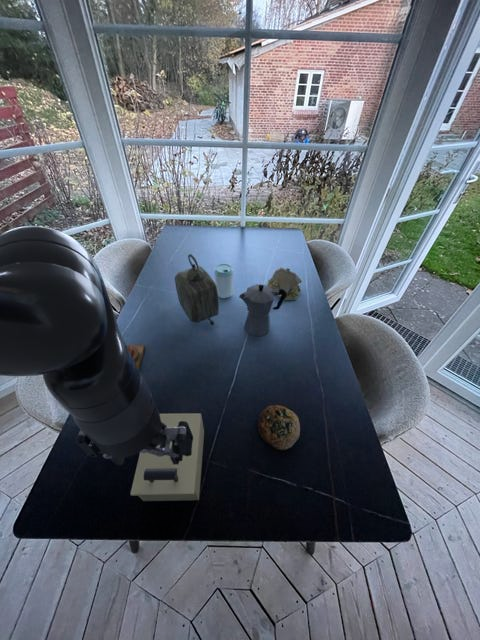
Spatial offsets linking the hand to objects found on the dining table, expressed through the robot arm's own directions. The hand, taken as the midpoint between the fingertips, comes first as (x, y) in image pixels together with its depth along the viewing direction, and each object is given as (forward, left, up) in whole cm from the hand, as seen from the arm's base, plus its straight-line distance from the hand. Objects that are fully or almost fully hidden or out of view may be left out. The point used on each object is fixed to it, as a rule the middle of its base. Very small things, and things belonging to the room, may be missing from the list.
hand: (150, 457), depth 41 cm
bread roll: (+28, -3, -22) cm, 36 cm away
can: (+47, +49, -22) cm, 71 cm away
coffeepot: (+47, +27, -22) cm, 58 cm away
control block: (+5, +39, -22) cm, 45 cm away
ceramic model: (+68, +37, -22) cm, 80 cm away
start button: (+5, +39, -19) cm, 43 cm away
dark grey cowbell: (+32, +43, -22) cm, 58 cm away
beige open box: (+3, +5, -22) cm, 23 cm away
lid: (+3, +4, -13) cm, 14 cm away
